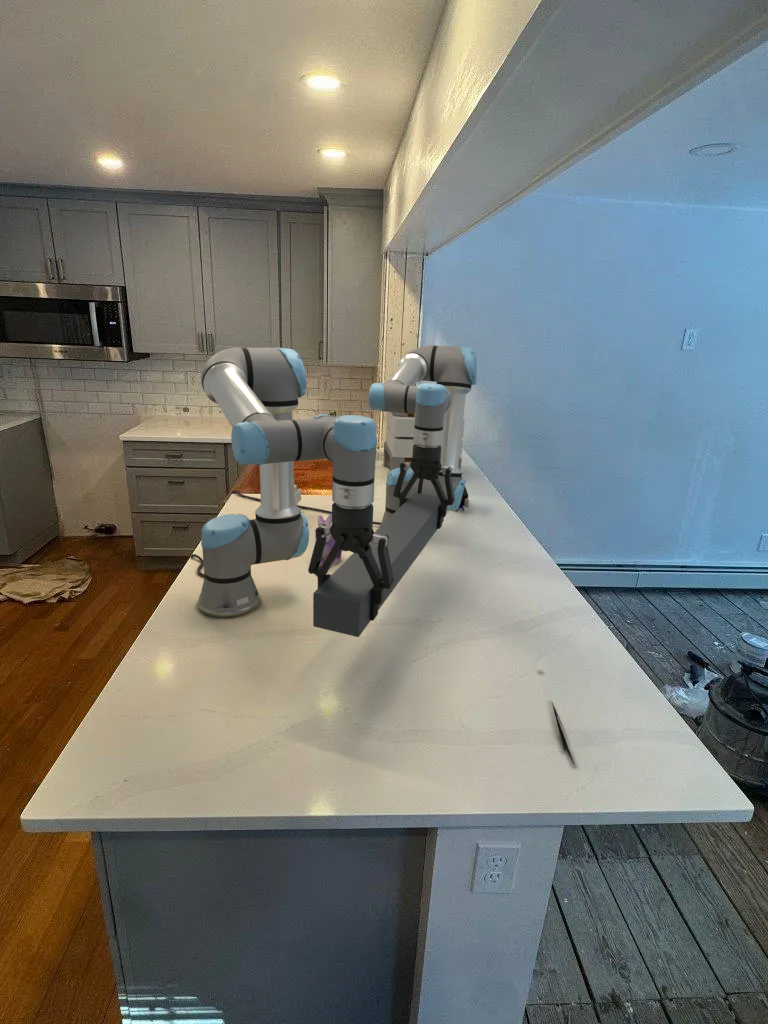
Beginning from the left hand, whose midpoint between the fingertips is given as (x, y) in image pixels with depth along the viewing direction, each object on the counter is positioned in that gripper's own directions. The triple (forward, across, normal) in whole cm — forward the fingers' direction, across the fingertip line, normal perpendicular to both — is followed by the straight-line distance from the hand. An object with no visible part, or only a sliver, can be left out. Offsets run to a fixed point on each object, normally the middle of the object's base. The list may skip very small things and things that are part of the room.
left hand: (349, 611), depth 110 cm
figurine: (+20, -29, +57) cm, 67 cm away
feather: (+19, +41, +9) cm, 46 cm away
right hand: (0, +1, +51) cm, 51 cm away
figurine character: (+20, -2, +126) cm, 127 cm away
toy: (+20, -60, +86) cm, 107 cm away
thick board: (+1, 0, +26) cm, 26 cm away
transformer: (+20, -29, +167) cm, 171 cm away
